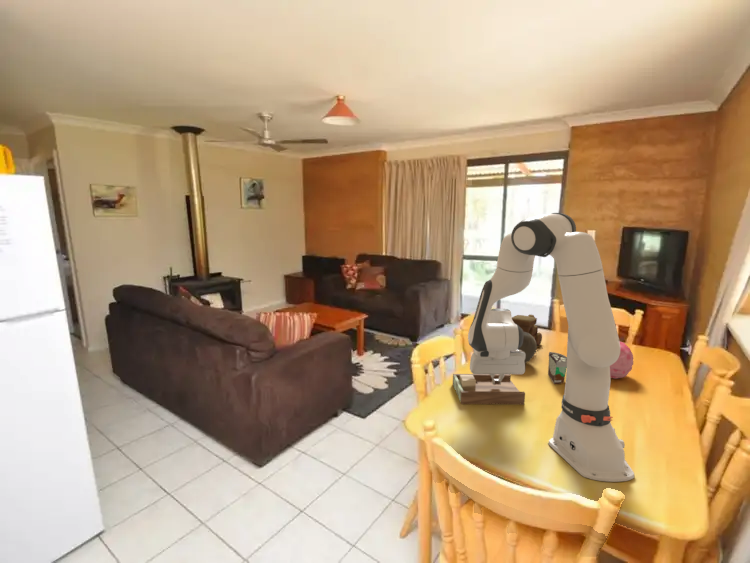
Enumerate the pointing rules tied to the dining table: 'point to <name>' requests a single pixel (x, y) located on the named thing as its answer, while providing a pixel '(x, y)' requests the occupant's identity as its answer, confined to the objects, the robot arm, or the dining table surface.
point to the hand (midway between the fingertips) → (496, 384)
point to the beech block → (467, 382)
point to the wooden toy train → (528, 326)
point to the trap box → (489, 391)
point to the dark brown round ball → (528, 346)
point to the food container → (557, 367)
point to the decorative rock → (622, 362)
